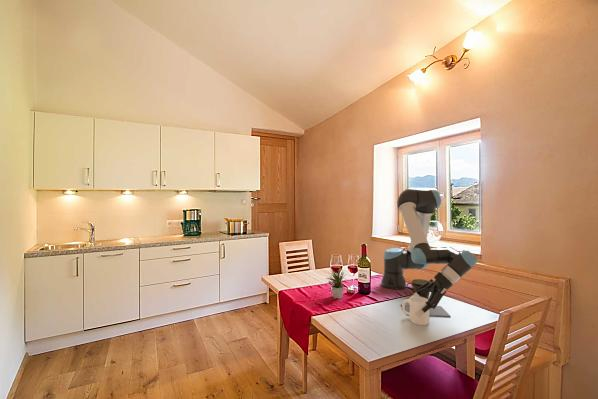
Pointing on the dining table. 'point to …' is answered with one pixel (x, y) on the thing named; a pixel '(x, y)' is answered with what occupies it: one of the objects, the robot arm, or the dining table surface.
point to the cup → (414, 306)
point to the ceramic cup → (418, 283)
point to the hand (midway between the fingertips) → (412, 309)
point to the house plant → (337, 284)
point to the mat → (432, 311)
